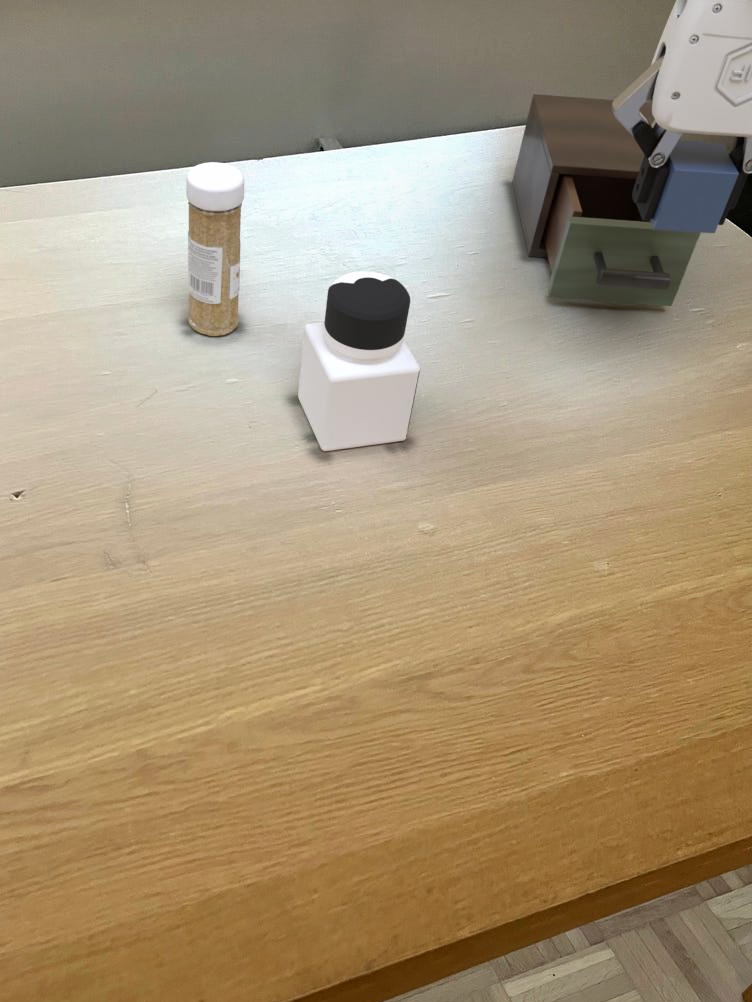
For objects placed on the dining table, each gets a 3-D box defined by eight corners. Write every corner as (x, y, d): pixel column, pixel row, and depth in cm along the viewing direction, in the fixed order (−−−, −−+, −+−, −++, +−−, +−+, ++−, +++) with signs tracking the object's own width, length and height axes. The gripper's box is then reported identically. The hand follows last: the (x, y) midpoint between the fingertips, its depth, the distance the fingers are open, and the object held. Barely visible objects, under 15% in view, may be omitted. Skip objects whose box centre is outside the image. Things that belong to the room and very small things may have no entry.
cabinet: (656, 265, 103) (690, 175, 96) (528, 256, 103) (553, 164, 96) (629, 190, 112) (658, 103, 105) (511, 182, 112) (533, 93, 105)
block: (700, 202, 81) (723, 142, 78) (715, 233, 78) (739, 173, 75) (641, 198, 81) (661, 138, 77) (653, 230, 78) (675, 169, 75)
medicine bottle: (407, 442, 84) (434, 310, 75) (321, 453, 82) (338, 320, 73) (378, 387, 88) (400, 256, 79) (296, 397, 87) (309, 264, 77)
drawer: (681, 334, 94) (712, 259, 89) (554, 325, 94) (577, 249, 88) (643, 229, 105) (669, 157, 100) (530, 221, 105) (549, 148, 100)
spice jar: (249, 327, 93) (256, 178, 82) (207, 344, 91) (209, 194, 80) (217, 302, 95) (221, 154, 84) (176, 318, 93) (174, 169, 82)
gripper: (658, -52, 63) (574, 233, 77) (937, -33, 63) (803, 247, 77) (633, -94, 68) (559, 182, 82) (893, -76, 68) (774, 195, 82)
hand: (679, 211), depth 79 cm, fingers closed on block, 4 cm apart
